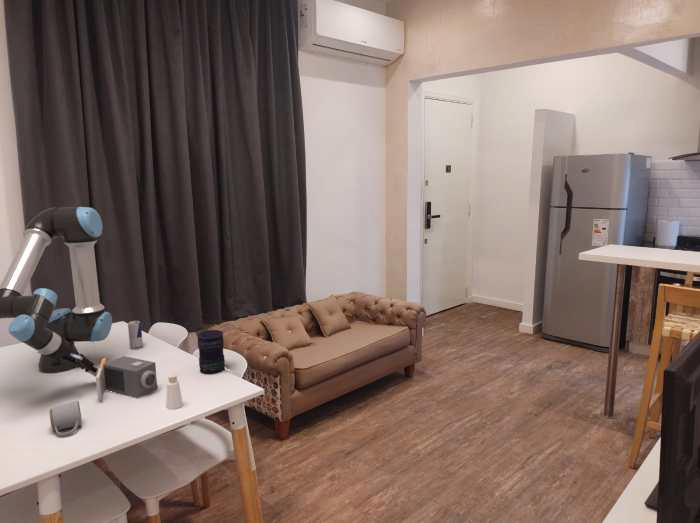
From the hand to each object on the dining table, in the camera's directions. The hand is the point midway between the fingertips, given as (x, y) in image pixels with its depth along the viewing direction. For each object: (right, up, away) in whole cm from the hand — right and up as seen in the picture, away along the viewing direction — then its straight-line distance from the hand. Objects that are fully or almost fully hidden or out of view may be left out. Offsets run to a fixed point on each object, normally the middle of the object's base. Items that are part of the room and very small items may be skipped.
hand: (99, 374), depth 190 cm
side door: (+5, -3, -8) cm, 10 cm away
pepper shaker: (+35, -7, -19) cm, 41 cm away
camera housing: (+16, -4, -7) cm, 18 cm away
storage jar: (+40, -1, +11) cm, 41 cm away
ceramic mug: (+7, -10, -34) cm, 36 cm away
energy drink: (-1, +3, +36) cm, 37 cm away
